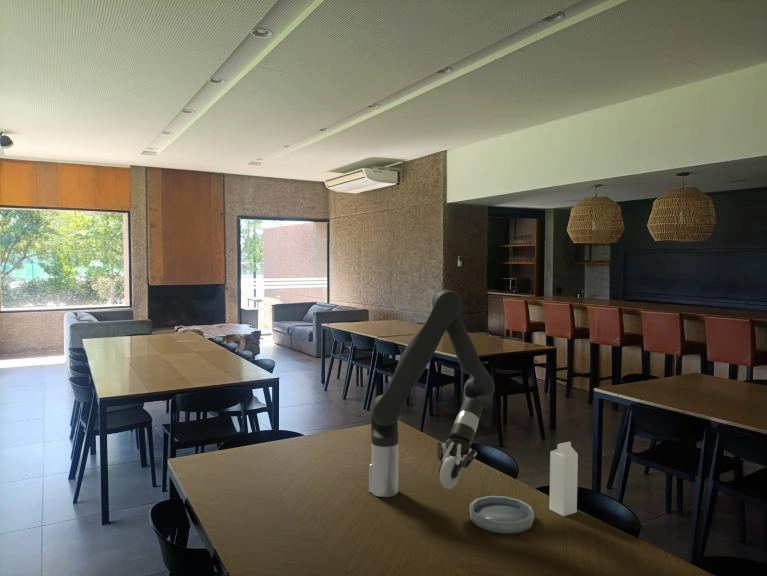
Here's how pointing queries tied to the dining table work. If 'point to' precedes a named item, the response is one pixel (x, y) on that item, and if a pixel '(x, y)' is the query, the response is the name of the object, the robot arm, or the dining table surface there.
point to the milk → (563, 479)
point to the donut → (448, 473)
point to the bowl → (501, 514)
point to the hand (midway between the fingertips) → (447, 475)
